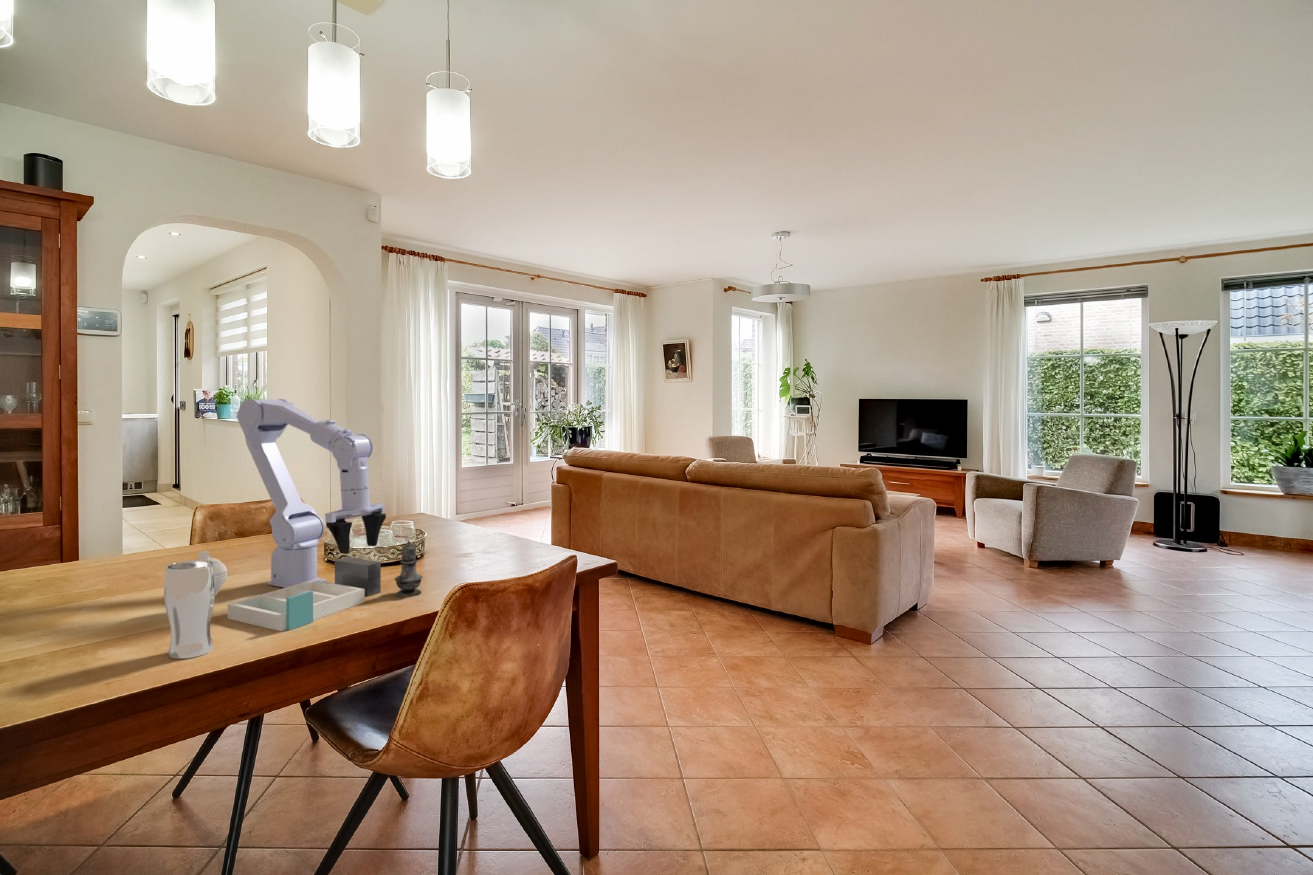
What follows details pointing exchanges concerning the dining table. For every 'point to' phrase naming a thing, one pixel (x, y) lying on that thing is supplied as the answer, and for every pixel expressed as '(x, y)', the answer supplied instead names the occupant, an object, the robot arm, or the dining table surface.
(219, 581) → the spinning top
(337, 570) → the dark grey block
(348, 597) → the divided tray
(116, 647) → the dining table surface
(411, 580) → the dark grey stone ornament
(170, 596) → the beer glass
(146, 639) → the dining table surface
